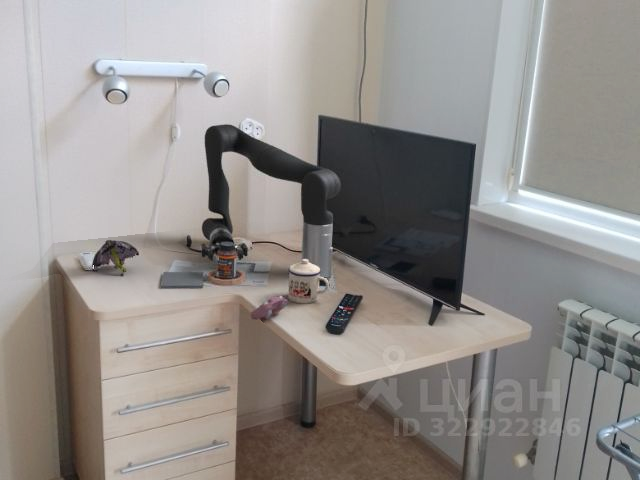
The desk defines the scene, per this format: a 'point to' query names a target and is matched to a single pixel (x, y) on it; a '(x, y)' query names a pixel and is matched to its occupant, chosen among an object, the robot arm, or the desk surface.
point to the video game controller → (269, 308)
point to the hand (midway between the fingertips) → (226, 257)
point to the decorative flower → (114, 254)
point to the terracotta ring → (226, 282)
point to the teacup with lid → (305, 282)
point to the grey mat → (182, 280)
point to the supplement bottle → (226, 261)
